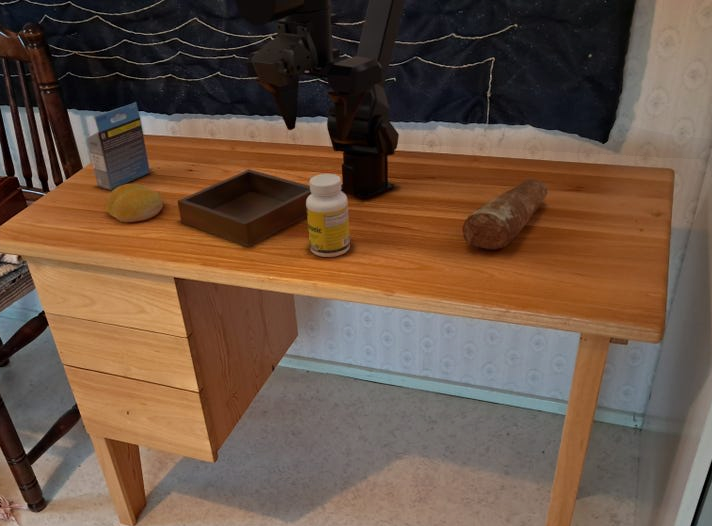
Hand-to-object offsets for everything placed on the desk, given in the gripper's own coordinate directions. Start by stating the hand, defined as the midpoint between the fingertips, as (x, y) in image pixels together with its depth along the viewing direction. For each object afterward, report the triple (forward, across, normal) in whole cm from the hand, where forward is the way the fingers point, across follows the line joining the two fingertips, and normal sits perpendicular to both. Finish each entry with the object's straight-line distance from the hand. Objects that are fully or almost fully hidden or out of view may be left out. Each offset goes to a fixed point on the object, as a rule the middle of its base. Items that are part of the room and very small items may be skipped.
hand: (316, 134), depth 99 cm
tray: (+12, -10, -5) cm, 17 cm away
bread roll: (+13, -27, -14) cm, 33 cm away
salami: (+13, +22, +12) cm, 29 cm away
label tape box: (+13, -40, -6) cm, 42 cm away
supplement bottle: (+13, +7, -6) cm, 16 cm away
